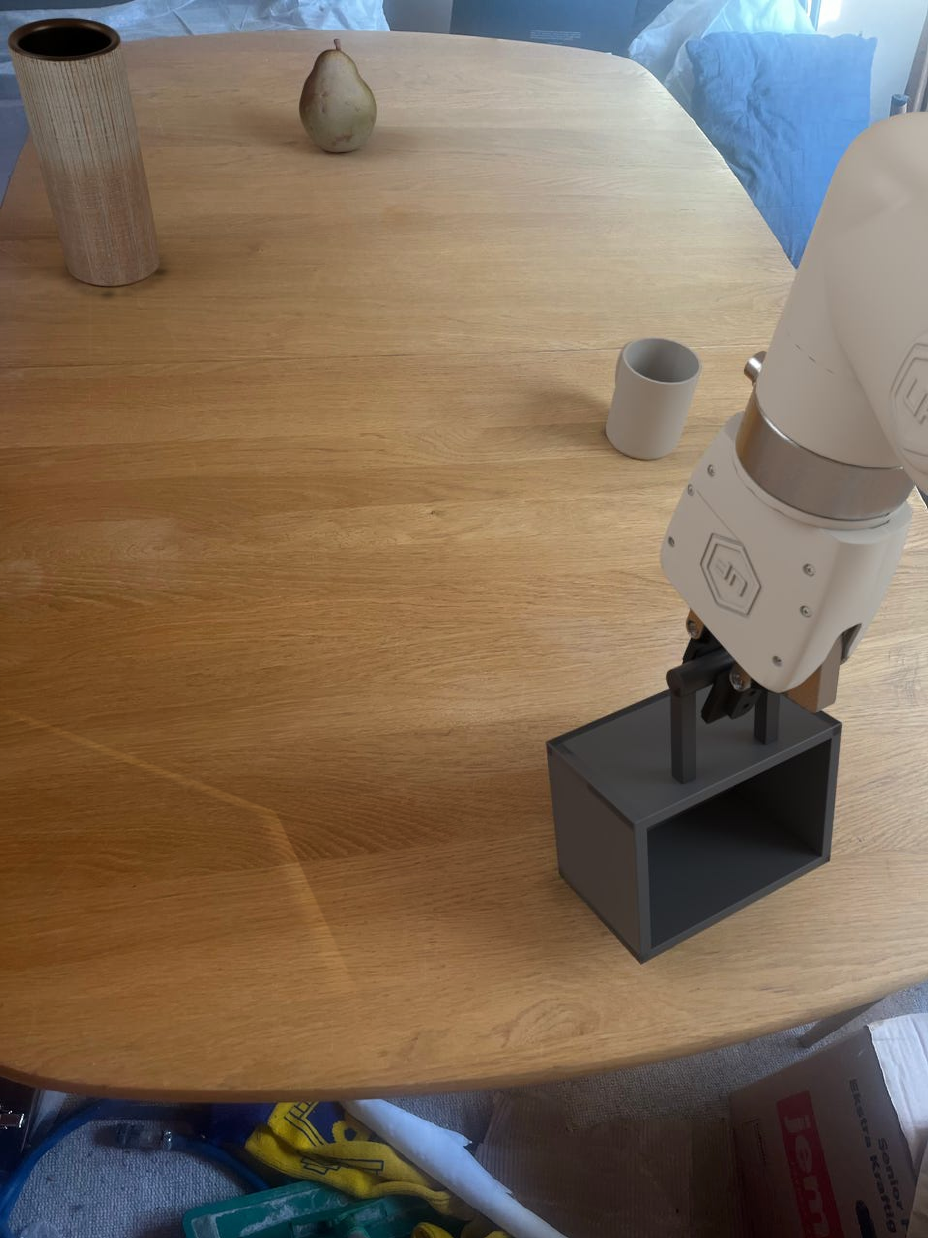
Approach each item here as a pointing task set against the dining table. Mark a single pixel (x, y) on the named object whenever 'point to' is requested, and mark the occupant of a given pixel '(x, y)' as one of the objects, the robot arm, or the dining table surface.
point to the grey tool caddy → (691, 807)
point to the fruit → (337, 103)
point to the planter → (87, 147)
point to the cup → (651, 396)
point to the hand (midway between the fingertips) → (711, 694)
